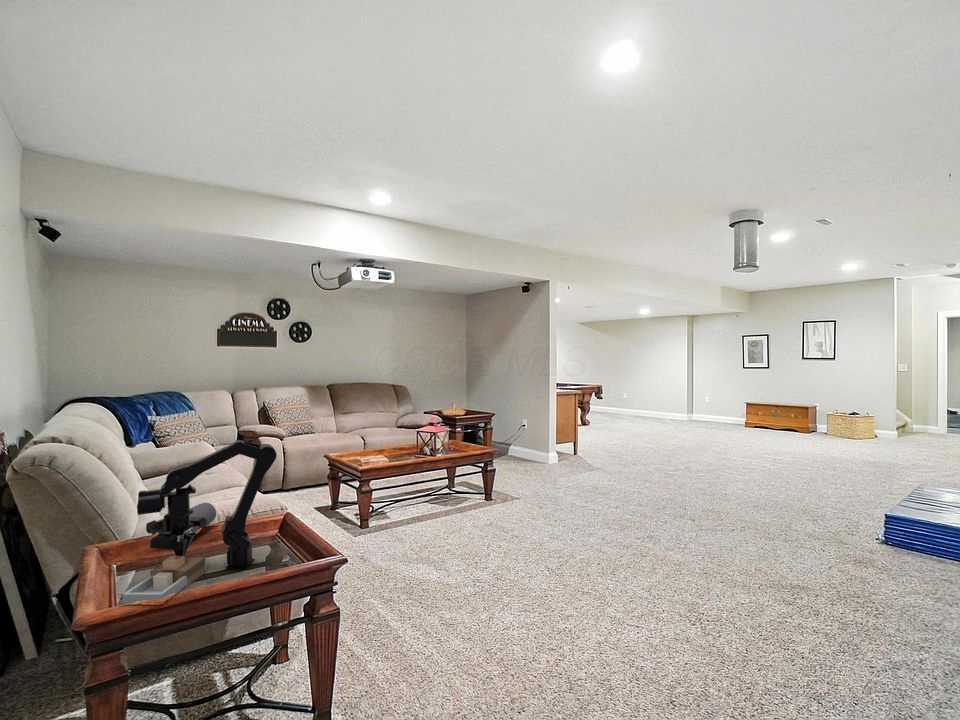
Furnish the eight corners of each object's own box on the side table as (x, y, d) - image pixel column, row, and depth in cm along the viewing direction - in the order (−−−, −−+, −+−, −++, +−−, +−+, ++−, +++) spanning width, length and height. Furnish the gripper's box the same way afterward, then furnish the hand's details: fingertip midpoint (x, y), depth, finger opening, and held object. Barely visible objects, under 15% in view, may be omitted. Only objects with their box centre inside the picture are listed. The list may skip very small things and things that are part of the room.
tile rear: (184, 564, 151) (184, 555, 151) (176, 569, 147) (175, 561, 147) (171, 564, 151) (171, 555, 151) (162, 569, 147) (162, 561, 147)
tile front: (172, 572, 145) (166, 576, 143) (173, 585, 146) (167, 590, 143) (158, 572, 145) (152, 576, 143) (159, 585, 146) (153, 590, 143)
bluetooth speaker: (183, 549, 174) (181, 521, 174) (156, 549, 174) (155, 521, 174) (218, 526, 197) (217, 500, 196) (195, 526, 197) (194, 501, 197)
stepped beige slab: (205, 572, 156) (204, 557, 155) (187, 585, 147) (186, 570, 146) (170, 572, 156) (170, 557, 156) (150, 585, 147) (150, 570, 147)
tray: (187, 585, 147) (187, 575, 146) (162, 605, 136) (161, 594, 136) (150, 585, 147) (150, 575, 147) (122, 605, 136) (122, 594, 136)
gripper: (173, 499, 162) (175, 547, 162) (130, 519, 143) (132, 573, 143) (207, 499, 161) (208, 547, 162) (168, 519, 142) (169, 573, 143)
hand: (180, 559), depth 152 cm, fingers closed
